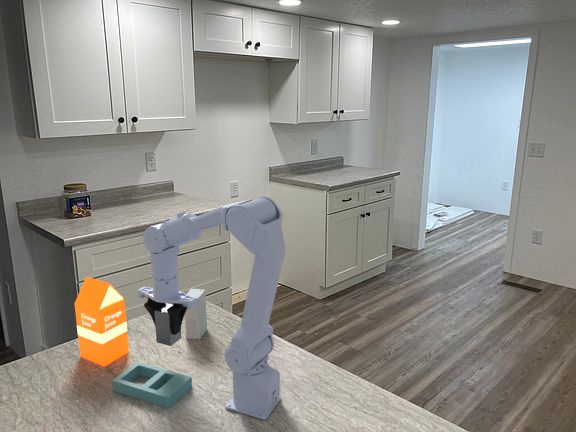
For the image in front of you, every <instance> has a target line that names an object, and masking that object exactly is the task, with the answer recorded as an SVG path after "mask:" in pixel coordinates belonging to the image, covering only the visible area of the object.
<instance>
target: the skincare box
mask: <svg viewBox="0 0 576 432" xmlns="http://www.w3.org/2000/svg"><path fill="white" fill-rule="evenodd" d="M185 294H186V295H188V296H190V297H194V298H196V306H195V307H194V308H192V309H187V311H186V313H185V315H184V326H185V327H184V329H185V338H186V339H189V340H191V339H192V340H201V339H202V338H203V336H204V335H205V333H206V331H207V330H208V323H207V322H208V319H207V318H208V317H207V300H206V299H207V297H206V294H207V293H206V289H202V288H201V289H199V288H190V289H189V290H188V292H187V293H185Z"/></svg>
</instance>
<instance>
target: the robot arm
mask: <svg viewBox="0 0 576 432" xmlns="http://www.w3.org/2000/svg"><path fill="white" fill-rule="evenodd" d="M176 216H177V217H174V218H172V219H170V218H165V219H163V220H162V221H161V223H159V224H155V225H150V226H148V227H147V228H146V229H145V230H144V231H143V235H142V239H143V244H144V245H145V248H146V249H147V250H148V251H149V255H150V270H151V282H152V283H151V285H152V287H147V286H143V287H141V288H139V289H137V292H138V293H137V295H138V298H140V299H143V298H146V299H147V300H146V302H145V303H144V304H143V306H144V309H146V310H147V312H148V314H149V316H150V317H151V319H152V321H153V324H154V325H155V312H154V310H156V309H158V308H159V307H161V306H162V305H164V304H171V305H173V306H171V307H169V308H168V309H167V312H168V314H169V317H170V320H171V328H172V333H173V335H176V334H177V333H179V332H180V330H181V331H182V325H183V321H184V319H185V313H186V311H187V309H192V308H194V307H195V306H196V298H194V297H190V296H188V295H186V294H187V293H185V292H182V291H181V287H180V283H179V282H180V281H179V278H180V277H179V265H178V262H179V261H178V253H179V252H180V246H181V245H184V244H187V243H190V242H193V241H195V240H198V239H199V238H200V237H201V236H202V234H203V232H204V231H206V230H210V229H212V228H216V227H219V226H222V227H223V229H224V230H225V231H229V232H230V233H231V235H232V236H233V237H234V238H235V239H236V240H237V241H238V242H239V243H240V244H241V245H243V247H244V248H246V249H247V250H248V252H250V253H251V254H253V255H254V259H253V265H252V269H251V275H250V277H249V278H250V280H249V285H248V287H247V293H246V299H245V304H244V307H243V313H242V317H241V322H240V325H239V327H238V328H237V330H236V331H235V333H234V334H233V335H232V338H231V341H230V344H229V345H228V346H227V347H226V349H225V350H224V360H225V363H226V365H227V366H228V368H229V369H230V371H231V372H232V395H233V396H232V397H231V398H230V399H229V401H228V402H227V403H226V404H225V409H228V410H230V411H234V412H238V413H240V414H244V415H247V416H251V417H254V418H257V419H259V420H263V421H264V420H267V419H268V418H269V416H270V415H271V413H272V412H273V410H274V409H275V408H276V406H277V405H278V404H279V402H280V401H281V399H282V396H281V395H280V394H281V393H280V391H281V388H280V387H281V386H280V385H281V383H280V382H281V381H280V380H281V376H280V371H279V370H278V369H276V368H274V367H272V366H271V365H270V364H268V361H269V354H271V353H272V352H273V350H274V347H275V341H274V337H273V334H274V328H273V326H272V325H270V321H271V320H270V319H271V315H272V311H273V307H274V302H275V298H276V293H277V289H278V284H279V280H280V278H281V277H280V276H281V272H282V268H283V264H284V259H285V255H286V245H285V239H284V238H285V237H284V233H283V232H284V231H283V227H282V221H283V217H284V213H283V212H282V211H281V209H280V208H279V206H278V205H277V203H276V201H274V200H273V199H272V198H270V197H268V196H259V197H257V198H255V199H254V198H250V199H246V200H240V201H237V202H232V203H228V204H226V205H221V206H219V207H217V208H214V209H212V210H210V211H207V212H204V213H202V214H200V215H198V216H197V215H196V214H195V213H191V212H190V213H189V212H188V213H187V212H186V211H183V212H179V213H177V214H176Z"/></svg>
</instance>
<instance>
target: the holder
mask: <svg viewBox="0 0 576 432" xmlns="http://www.w3.org/2000/svg"><path fill="white" fill-rule="evenodd" d="M138 376H143V377H145V378H150V379H148V380H147V381H146V382H145V383H144V384H138V383H133V382H132V381H133V380H134V379H136V378H137V377H138ZM192 379H193V378H192V376H190V375H186V374H183V373H179V372H176V371H172V370H169V369H165V368H163V367H158V366H155V365H150V364H148V363H144V362H141V361H136V362H135V363H134V364H132V365H131V366H129V368H127V369H126V370H124V371H123V372H121V373H120V374H119V375H117V376H115V378H114V379H112V380H111V381H112V382H111V383H112V391H114V392H117V393H120V394H123V395H127V396H130V397H131V398H132V397H133V398H135V399H137V400H142V401H144V402H148V403H152V404H153V405H157V406H161V407H164V408H166V409H171V408H172V406H173V405H175V404H176V403H177V402H178V401H179V400H180V399H181V398H182V397H183V396H184V395H185V394H186V393H187V392H188V391H189V390H191V388H193V380H192Z"/></svg>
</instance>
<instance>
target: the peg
mask: <svg viewBox="0 0 576 432" xmlns="http://www.w3.org/2000/svg"><path fill="white" fill-rule="evenodd" d="M171 306H173V304H171V303H166V304H164V305H162V306H161V307H159V308H158V309H156V310H154V312H155V324H154V327H155V340H156V343H157V344H161V345H165V346H168V347H171V346H173V345H174V344H175V343H177V342H178V341H180V340H181V339H182V329H181V330H180V332H179V333H177V334H176V335H173V333H172V328H171V320H170V317H169V314H168V312H167V309H168V308H169V307H171Z"/></svg>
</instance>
